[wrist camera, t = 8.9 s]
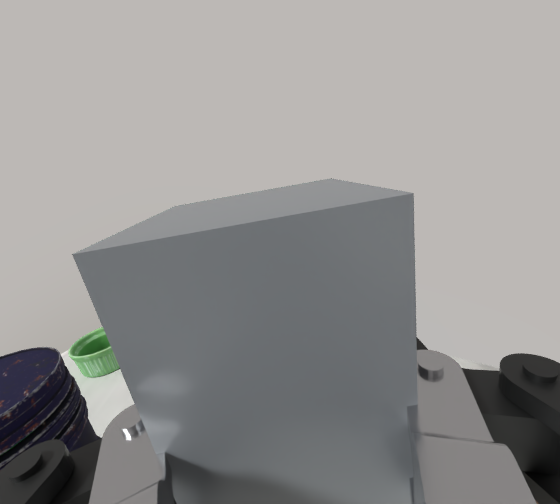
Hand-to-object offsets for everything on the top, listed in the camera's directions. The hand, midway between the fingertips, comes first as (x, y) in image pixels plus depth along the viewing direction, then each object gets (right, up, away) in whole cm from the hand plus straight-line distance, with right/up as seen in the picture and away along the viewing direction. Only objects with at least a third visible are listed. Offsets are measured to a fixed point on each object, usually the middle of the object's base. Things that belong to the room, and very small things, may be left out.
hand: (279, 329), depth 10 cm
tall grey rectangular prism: (+1, -7, 0) cm, 7 cm away
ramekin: (-28, -15, +35) cm, 47 cm away
